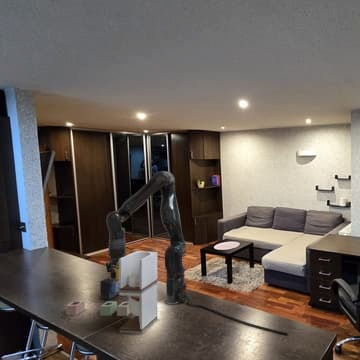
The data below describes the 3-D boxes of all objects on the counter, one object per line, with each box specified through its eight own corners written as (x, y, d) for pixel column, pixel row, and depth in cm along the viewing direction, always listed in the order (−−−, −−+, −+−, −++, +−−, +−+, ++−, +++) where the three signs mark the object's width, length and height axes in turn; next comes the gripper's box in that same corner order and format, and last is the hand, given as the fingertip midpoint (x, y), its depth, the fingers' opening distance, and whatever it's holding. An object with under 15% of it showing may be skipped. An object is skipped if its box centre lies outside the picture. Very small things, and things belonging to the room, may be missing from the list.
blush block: (84, 310, 144) (84, 300, 143) (76, 315, 139) (76, 305, 138) (74, 310, 144) (74, 300, 143) (66, 315, 139) (66, 305, 138)
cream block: (133, 310, 145) (133, 301, 144) (127, 316, 140) (126, 306, 139) (123, 310, 144) (123, 301, 144) (117, 315, 139) (117, 306, 139)
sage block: (117, 310, 144) (117, 301, 144) (110, 315, 139) (110, 306, 139) (107, 310, 144) (107, 301, 144) (100, 315, 139) (100, 306, 139)
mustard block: (125, 275, 153) (125, 266, 153) (118, 279, 148) (118, 270, 148) (116, 275, 153) (116, 266, 153) (109, 279, 148) (109, 269, 148)
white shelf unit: (136, 318, 137) (136, 251, 136) (157, 319, 137) (157, 251, 135) (119, 332, 126) (119, 258, 124) (141, 333, 126) (141, 259, 124)
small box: (108, 300, 154) (108, 282, 154) (99, 298, 156) (99, 281, 155) (125, 292, 165) (125, 275, 164) (116, 290, 166) (116, 274, 166)
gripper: (114, 250, 143) (114, 282, 143) (132, 242, 157) (132, 271, 158) (100, 250, 142) (100, 281, 143) (119, 242, 157) (119, 271, 158)
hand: (117, 276), depth 151 cm, fingers closed on mustard block, 5 cm apart
